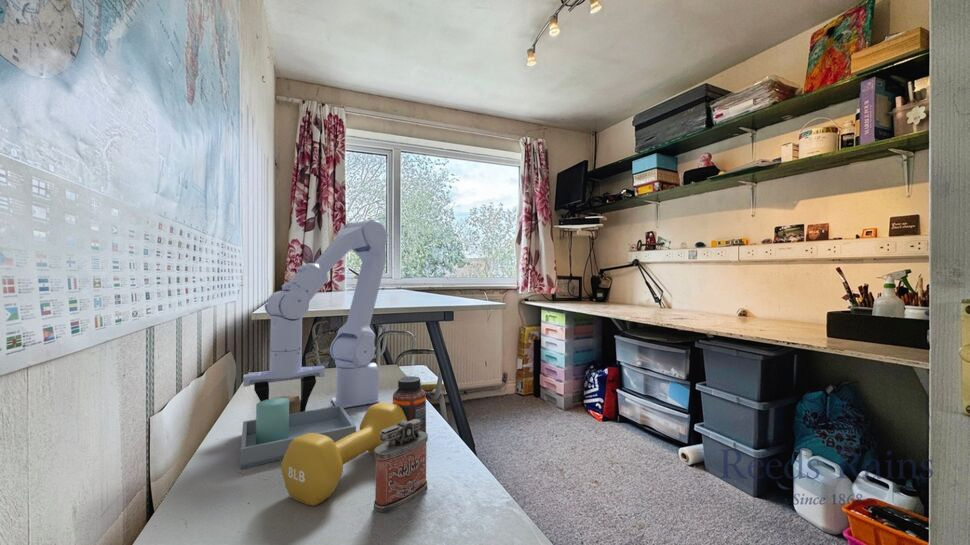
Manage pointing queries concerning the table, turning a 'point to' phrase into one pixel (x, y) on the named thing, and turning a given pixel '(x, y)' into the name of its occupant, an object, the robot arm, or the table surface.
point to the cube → (292, 403)
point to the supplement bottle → (411, 399)
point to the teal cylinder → (272, 420)
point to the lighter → (400, 466)
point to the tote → (294, 434)
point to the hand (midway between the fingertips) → (285, 416)
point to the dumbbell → (332, 454)
